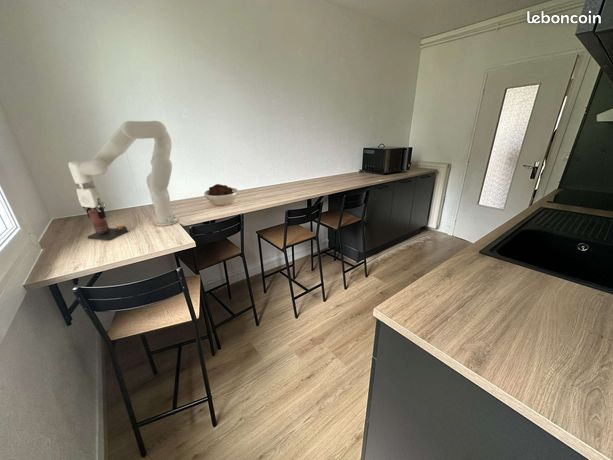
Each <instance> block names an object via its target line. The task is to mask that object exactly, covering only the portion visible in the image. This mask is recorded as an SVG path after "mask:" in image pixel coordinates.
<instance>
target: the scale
mask: <svg viewBox="0 0 613 460" xmlns="http://www.w3.org/2000/svg"><path fill="white" fill-rule="evenodd" d="M122 226H123V229H118V228H117V227H115V228H114V227H109V232H108V233H105V234H97V233H96V232H94V233H91V234H89V235H88V236H87V238H88V239H89V240H100V241H112V240H114V239H115V238H117V237H120V236H122V235H124V234H126V233H128V228H127V226H125V225H122Z"/></svg>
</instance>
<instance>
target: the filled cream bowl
mask: <svg viewBox="0 0 613 460" xmlns="http://www.w3.org/2000/svg"><path fill="white" fill-rule="evenodd" d="M238 194H239V190H238V189H237V188H234V187H231V186H228V185H227V184H220V183H216V184H214V185H212V186H209V187H208V189H207V190H206V191H204V193H203V195H204V197H205V199H207V200H208V201H209V203H210V204H212V205H215V206H225V205H226V206H227V205H230V204H232V203H234V202H235V200H236V198H237V197H238Z"/></svg>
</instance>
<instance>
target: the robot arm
mask: <svg viewBox="0 0 613 460" xmlns="http://www.w3.org/2000/svg"><path fill="white" fill-rule="evenodd" d="M139 139H140V140H142V139H143V140H144V139H153V141H154V143H153V144H154V145H153V151H152V156H151V160H150V165H151V171H150V173H148V174H147V176H146V184H147V187H148V191H149V195H150V198H151V203H152V205H153V209H154V213H155V217H156V220H155V222H154V224H155V226H158V227H166V226H167V227H168V226H171V225H174V224H176V223H177V222H179V219H180V217H179V216H176V215H175V214H174V211H173V207H172V203H171V198H170V193H169V190H168V187H169V184H170V180H171V175H172V170H173V164H172V161H171V158H170V157H171V152H172V139H171V137H170V134H169V132H168V131H167V127H166V126H165V124H164V123H162V122H160V121H158V120H142V121H141V120H137V121H136V120H126V121H124V122H123V123H122V124H121V125H120V126H119V127H118V129H116V130H115V132H114V133H113V134H112V135H111V136H110V137H109V138H108V139H107V140H106V142H105V143H104V145H103V146H102V147H101V149H100V150H99V151H98V152H97V153H96V154H95V155H94V156H93V157H92V158H91V160H89V161H86V160H74V161H69V162H68V164H67V166H68V169H69V171H70V173H71V176H72V179H73V182H74V184H75V186H76V195H77V198H78V202H79V205H80V206H81V207H82V208H83V209H84V211H85V212H86V215H87V217H88V219H91V218H90V215H89V213H88V210H89V209H91V208H96V209H97V210H98V215H99V218H100V219H102V218H105V219H106V217H107V216H106V213H105V210H106V206H107V204H106V203H105V202H104V201H103V199H102V195H101V194H100V192H99V190H98V188H97V187H96V183H95V181H94V178H93V176H102V175H105V174H106V173H107V172H108V168H109V167H110V165H112V163H113V162H114V161H115V160H116V159H118V157H120V156H121V155H123V154H125V153H126V151H128V150H129V148H130V147H131V146H132V144H134V142H135V141H136V140H139ZM98 207H100V209H99V208H98Z"/></svg>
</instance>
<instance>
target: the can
mask: <svg viewBox="0 0 613 460" xmlns="http://www.w3.org/2000/svg"><path fill="white" fill-rule="evenodd" d="M98 208H99V209H100V207H98ZM88 213H89V215H90V218H89V219H90V220H91V223H92V226H93V228H94V231H95V233H97V234H105V233H108V232H109V228H110V227H109V225H108V223H107V219H106V217H105V218H102V219H100V218H99V215H98V210H97V209H96V208H91V209H89V210H88Z"/></svg>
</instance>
